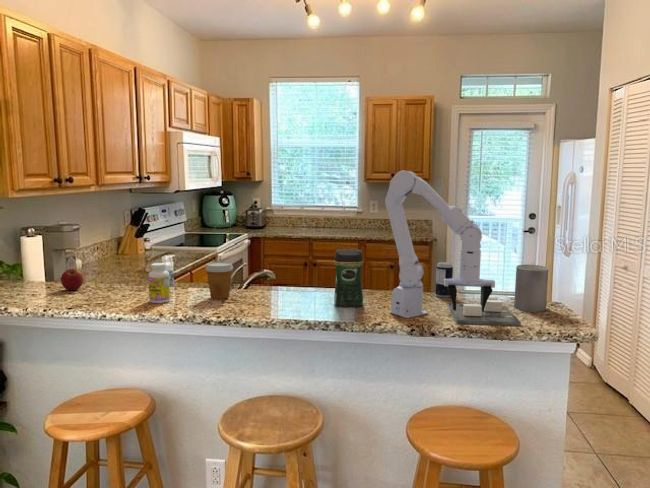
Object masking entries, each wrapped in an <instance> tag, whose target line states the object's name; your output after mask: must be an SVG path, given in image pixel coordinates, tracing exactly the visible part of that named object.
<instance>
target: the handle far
mask: <svg viewBox="0 0 650 488" xmlns="http://www.w3.org/2000/svg"><path fill="white" fill-rule="evenodd" d="M488 300H498V296H497V295H490V296H489V298H488ZM480 302H481V294H480V295H479V303H480Z"/></svg>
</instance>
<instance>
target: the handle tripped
mask: <svg viewBox="0 0 650 488" xmlns="http://www.w3.org/2000/svg"><path fill="white" fill-rule="evenodd" d="M462 304H463V314H464V316H482V306H481V305H480V303H479V304H478V303H462Z"/></svg>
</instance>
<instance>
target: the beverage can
mask: <svg viewBox="0 0 650 488" xmlns="http://www.w3.org/2000/svg"><path fill="white" fill-rule="evenodd" d="M453 273H454V267H453V263H452V262H449V261H448V262H446V261H440V262H439V261H438V262H437V265H436V271H435V295H436V296H437V297H438V298H451V296H450V293H449V291H448V288H447V286H444V279H453V275H454V274H453Z"/></svg>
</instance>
